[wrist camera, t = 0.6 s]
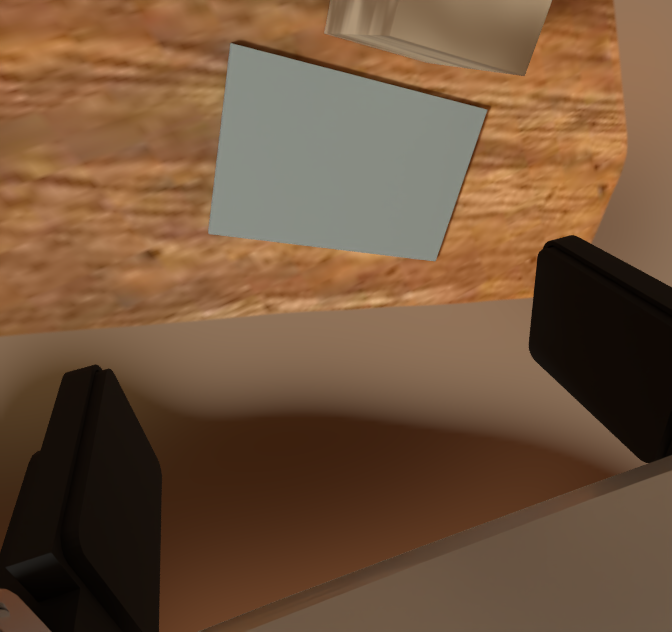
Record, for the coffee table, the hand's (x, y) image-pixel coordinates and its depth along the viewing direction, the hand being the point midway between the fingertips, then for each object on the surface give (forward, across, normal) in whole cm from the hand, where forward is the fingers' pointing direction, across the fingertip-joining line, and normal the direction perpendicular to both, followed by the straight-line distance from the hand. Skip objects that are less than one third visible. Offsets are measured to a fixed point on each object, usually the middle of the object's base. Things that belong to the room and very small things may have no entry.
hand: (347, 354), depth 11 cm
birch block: (+29, -12, -5) cm, 32 cm away
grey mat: (+29, -8, +5) cm, 30 cm away
